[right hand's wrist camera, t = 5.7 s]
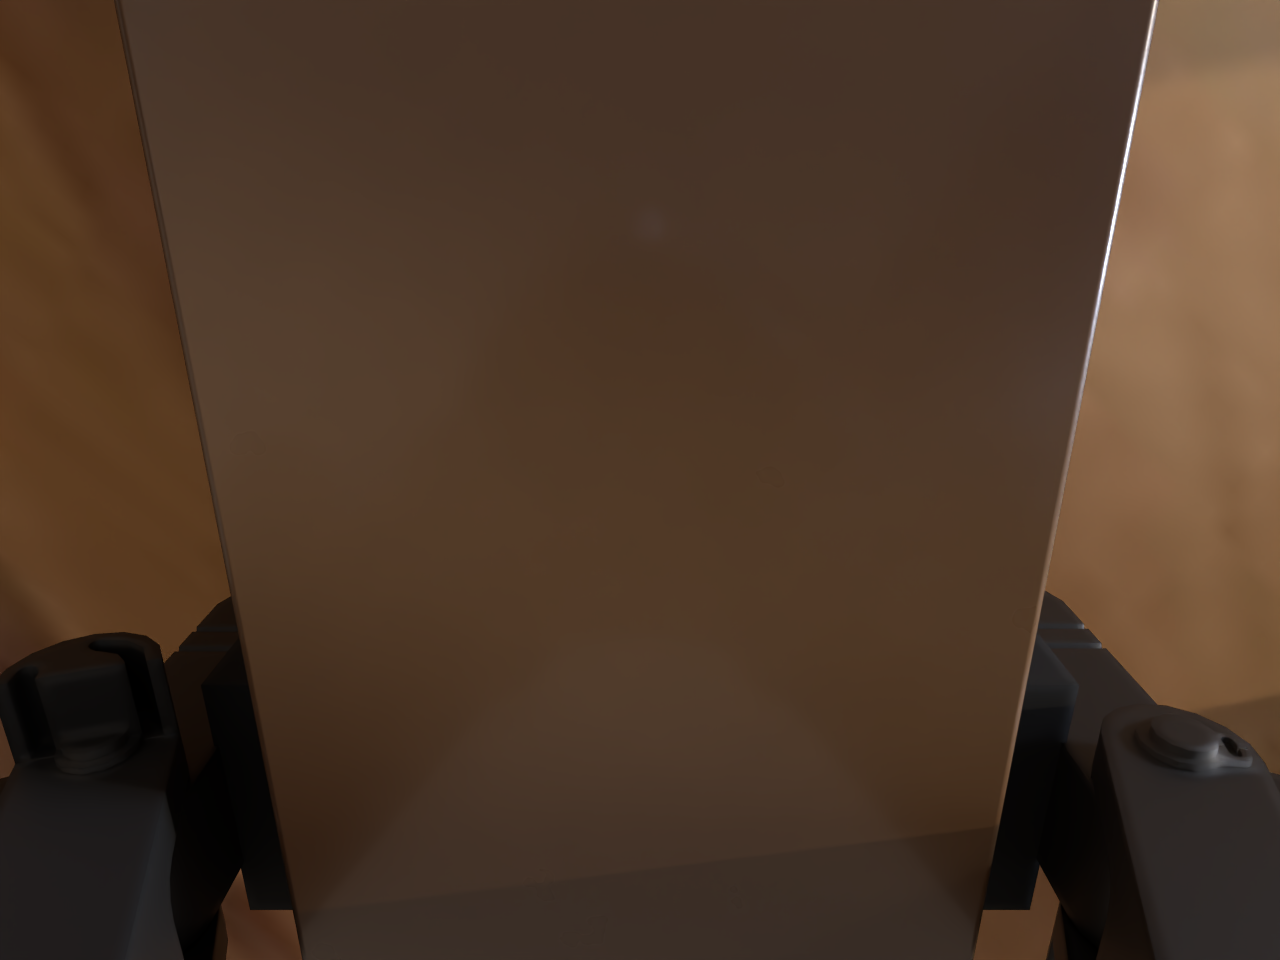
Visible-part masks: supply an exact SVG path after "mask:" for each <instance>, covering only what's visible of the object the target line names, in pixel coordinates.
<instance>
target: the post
mask: <svg viewBox="0 0 1280 960" xmlns="http://www.w3.org/2000/svg"><path fill="white" fill-rule="evenodd" d="M114 2H115V7H116V12H117V17H118V22H119V28H120V33H121V38H122V43H123V48H124V53H125V58H126V63H127V68H128V73H129V78H130V84H131V89H132V94H133V99H134V104H135V109H136V114H137V119H138V124H139V129H140V135H141V140H142V145H143V150H144V155H145V160H146V165H147V170H148V175H149V180H150V185H151V191H152V196H153V201H154V206H155V211H156V216H157V221H158V226H159V231H160V236H161V241H162V247H163V252H164V257H165V262H166V267H167V272H168V277H169V282H170V287H171V292H172V297H173V303H174V308H175V313H176V318H177V323H178V328H179V333H180V338H181V343H182V348H183V353H184V359H185V364H186V369H187V374H188V379H189V384H190V389H191V394H192V399H193V404H194V409H195V415H196V420H197V425H198V430H199V435H200V440H201V445H202V450H203V455H204V460H205V465H206V471H207V476H208V481H209V486H210V491H211V496H212V501H213V506H214V511H215V516H216V521H217V527H218V532H219V537H220V542H221V547H222V552H223V557H224V562H225V567H226V572H227V577H228V583H229V588H230V593H231V598H232V603H233V608H234V613H235V618H236V623H237V628H238V633H239V639H240V644H241V649H242V654H243V659H244V664H245V669H246V674H247V679H248V684H249V690H250V695H251V700H252V705H253V710H254V715H255V720H256V725H257V730H258V735H259V740H260V746H261V751H262V756H263V761H264V766H265V771H266V776H267V781H268V786H269V791H270V796H271V802H272V807H273V812H274V817H275V822H276V827H277V832H278V837H279V842H280V847H281V852H282V858H283V863H284V868H285V873H286V878H287V883H288V888H289V893H290V898H291V903H292V908H293V914H294V919H295V924H296V929H297V934H298V939H299V944H300V949H301V954H302V959H303V960H973V958H974V953H975V948H976V943H977V938H978V932H979V927H980V922H981V917H982V912H983V907H984V901H985V896H986V891H987V886H988V881H989V876H990V870H991V865H992V860H993V855H994V850H995V845H996V840H997V834H998V829H999V824H1000V819H1001V814H1002V809H1003V803H1004V798H1005V793H1006V788H1007V783H1008V778H1009V773H1010V767H1011V762H1012V757H1013V752H1014V747H1015V742H1016V736H1017V731H1018V726H1019V721H1020V716H1021V711H1022V705H1023V700H1024V695H1025V690H1026V685H1027V680H1028V675H1029V669H1030V664H1031V659H1032V654H1033V649H1034V644H1035V638H1036V633H1037V628H1038V623H1039V618H1040V613H1041V607H1042V602H1043V597H1044V592H1045V587H1046V582H1047V577H1048V571H1049V566H1050V561H1051V556H1052V551H1053V546H1054V540H1055V535H1056V530H1057V525H1058V520H1059V515H1060V510H1061V504H1062V499H1063V494H1064V489H1065V484H1066V479H1067V473H1068V468H1069V463H1070V458H1071V453H1072V448H1073V442H1074V437H1075V432H1076V427H1077V422H1078V417H1079V412H1080V406H1081V401H1082V396H1083V391H1084V386H1085V381H1086V375H1087V370H1088V365H1089V360H1090V355H1091V350H1092V344H1093V339H1094V334H1095V329H1096V324H1097V319H1098V314H1099V308H1100V303H1101V298H1102V293H1103V288H1104V283H1105V277H1106V272H1107V267H1108V262H1109V257H1110V252H1111V247H1112V241H1113V236H1114V231H1115V226H1116V221H1117V216H1118V210H1119V205H1120V200H1121V195H1122V190H1123V185H1124V179H1125V174H1126V169H1127V164H1128V159H1129V154H1130V149H1131V143H1132V138H1133V133H1134V128H1135V123H1136V118H1137V112H1138V107H1139V102H1140V97H1141V92H1142V87H1143V81H1144V76H1145V71H1146V66H1147V61H1148V56H1149V51H1150V45H1151V40H1152V35H1153V30H1154V25H1155V20H1156V14H1157V9H1158V4H1159V0H114Z"/></svg>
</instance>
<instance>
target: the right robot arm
mask: <svg viewBox="0 0 1280 960" xmlns="http://www.w3.org/2000/svg"><path fill="white" fill-rule="evenodd" d="M0 718H1V721H2V724H3V727H4V730H5V733H6V736H7V739H8V743H9V746H10V749H11V752H12V755H13V758H14V761H15V766H14V768H13V770H12V772H11V774H10V776H9V777H5V778H2V779H0V960H226V952H227V944H228V938H227V931H226V925H225V920H224V916H223V911H222V907H221V903H222V902H223V900H224V898H225V896H226V894H227V892H228V891H229V889H230V887H231V885H232V883H233V881H234V880H235V878H236V876H237V874H238V872H239V870H240V869H241V870H242V875H243V879H244V884H245V888H246V893H247V897H248V902H249V906H250V910H293V908H292V903H291V898H290V893H289V888H288V883H287V878H286V873H285V868H284V863H283V858H282V852H281V847H280V842H279V837H278V832H277V827H276V822H275V817H274V812H273V807H272V802H271V796H270V791H269V786H268V781H267V776H266V771H265V766H264V761H263V756H262V751H261V746H260V740H259V735H258V730H257V725H256V720H255V715H254V710H253V705H252V700H251V695H250V690H249V684H248V679H247V674H246V669H245V664H244V659H243V654H242V649H241V644H240V639H239V633H238V628H237V623H236V618H235V613H234V608H233V603H232V598H231V597H229V598H227V599H226V600H224V601H222V602H220V603H219V604H217V605H216V606H215V608H214V609H213V610H212V611H211V612H210V613H209V614H208V615H207V616H206V618H205V619H204V620H203V621H202V622H201V623H200V624H199V625H198V626H197V631H196V632H192V633H191V634H190V635H189V636H188V637H187V639H186V640H185V641H184V642H183V643H182V644H181V645H180V646H179V652H174V653H173V654H172V655H171V656H170V657H169V658H168V660H167V661H166V662H165V663H164V662H163V658H162V653H161V649H160V645H159V644H157V643H156V642H155V641H153V640H152V639H150V638H149V637H147V636H144V635H138V634H132V633H126V632H119V633H103V634H93V635H89V636H84V637H80V638H76V639H71V640H67V641H63V642H60V643H58V644H55V645H53V646H50V647H48V648H45V649H42V650H40V651H37V652H35V653H32V654H30V655H29V656H27V657H25V658H24V659H22V660H21V661H19V662H17V663H16V664H14V665H12V666H11V667H9V668H7V669H6V670H5V671H4V672H3V673H2V674H1V675H0ZM1039 865H1040V866H1041V868H1042V870H1043V871H1044V873H1045V875H1046V877H1047V879H1048V881H1049V882H1050V884H1051V886H1052V888H1053V890H1054V892H1055V893H1056V895H1057V897H1058V899H1059V901H1060V903H1059V907H1058V911H1057V916H1056V920H1055V924H1054V928H1053V933H1052V937H1051V941H1050V945H1049V950H1048V954H1047V958H1046V960H1280V775H1278V774H1274V773H1271V772H1269V770H1268V768H1267V766H1266V764H1265V762H1264V761H1263V760H1262V759H1261V757H1260V756H1259V755H1258V754H1257V752H1256V751H1255V750H1254V749H1253V747H1252V746H1251V745H1250V744H1249V743H1247V742H1246V741H1245V740H1243V739H1242V738H1240V737H1239V736H1238V735H1236V734H1235V733H1233V732H1232V731H1231V730H1229V729H1228V728H1226V727H1224V726H1222V725H1220V724H1218V723H1216V722H1213V721H1211V720H1209V719H1207V718H1205V717H1202V716H1200V715H1198V714H1195V713H1191V712H1188V711H1184V710H1180V709H1176V708H1173V707H1169V706H1163V705H1157V704H1156V703H1155V702H1154V701H1153V699H1152V698H1151V697H1150V696H1149V695H1148V694H1147V693H1146V692H1145V691H1144V690H1143V688H1142V687H1141V686H1140V685H1139V684H1138V683H1137V682H1136V681H1135V680H1134V679H1133V678H1132V676H1131V675H1130V674H1129V673H1128V672H1127V671H1126V670H1125V669H1124V668H1123V667H1122V665H1121V664H1120V663H1119V662H1118V661H1117V660H1116V659H1115V658H1114V657H1113V656H1112V654H1111V653H1110V652H1109V651H1108V650H1107V649H1106V648H1102V646H1101V642H1100V641H1099V640H1098V639H1097V638H1096V637H1095V636H1094V635H1093V634H1092V633H1091V631H1090V630H1089V629H1084V624H1083V623H1082V622H1081V620H1080V619H1079V618H1078V617H1077V616H1076V615H1075V614H1074V613H1073V612H1072V611H1071V609H1070V608H1069V607H1068V606H1067V605H1066V604H1065V603H1064V602H1063V601H1062V600H1060V599H1058V598H1057V597H1055V596H1053V595H1051V594H1050V593H1048V592H1046V591H1045V592H1044V597H1043V602H1042V607H1041V613H1040V618H1039V623H1038V628H1037V633H1036V638H1035V644H1034V649H1033V654H1032V659H1031V664H1030V669H1029V675H1028V680H1027V685H1026V690H1025V695H1024V700H1023V705H1022V711H1021V716H1020V721H1019V726H1018V731H1017V736H1016V742H1015V747H1014V752H1013V757H1012V762H1011V767H1010V773H1009V778H1008V783H1007V788H1006V793H1005V798H1004V803H1003V809H1002V814H1001V819H1000V824H999V829H998V834H997V840H996V845H995V850H994V855H993V860H992V865H991V870H990V876H989V881H988V886H987V891H986V896H985V901H984V907H983V910H1030V906H1031V902H1032V897H1033V893H1034V888H1035V884H1036V879H1037V875H1038V870H1039Z"/></svg>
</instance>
